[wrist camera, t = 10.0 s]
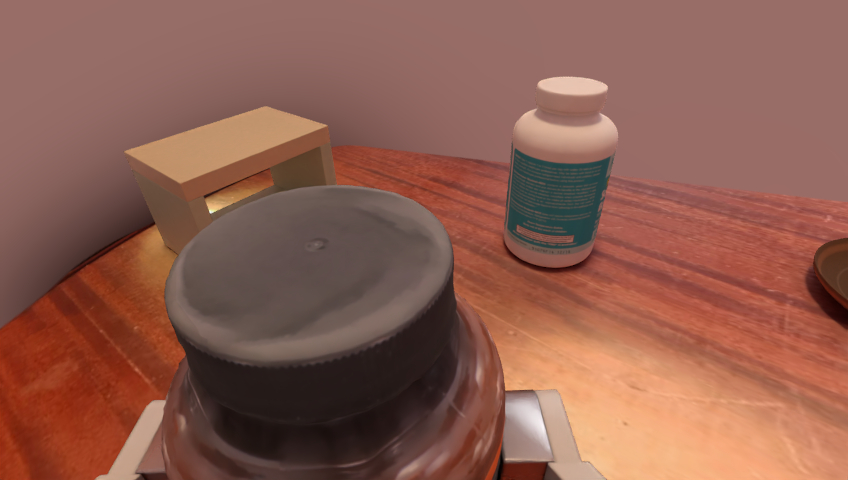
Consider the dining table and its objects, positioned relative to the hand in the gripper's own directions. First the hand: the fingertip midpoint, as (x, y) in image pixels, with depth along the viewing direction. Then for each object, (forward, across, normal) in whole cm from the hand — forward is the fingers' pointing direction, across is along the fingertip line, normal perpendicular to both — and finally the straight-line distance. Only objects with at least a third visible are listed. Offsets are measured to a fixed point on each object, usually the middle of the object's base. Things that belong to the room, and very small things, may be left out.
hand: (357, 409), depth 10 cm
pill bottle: (+25, -12, +14) cm, 31 cm away
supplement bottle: (-1, 0, +6) cm, 6 cm away
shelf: (+28, +14, +14) cm, 34 cm away
